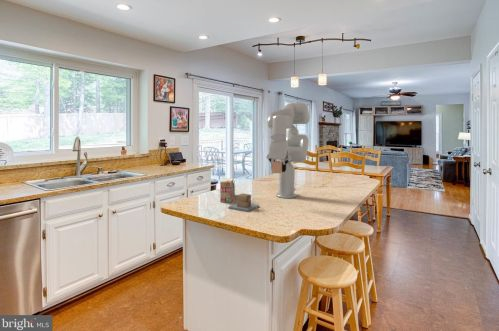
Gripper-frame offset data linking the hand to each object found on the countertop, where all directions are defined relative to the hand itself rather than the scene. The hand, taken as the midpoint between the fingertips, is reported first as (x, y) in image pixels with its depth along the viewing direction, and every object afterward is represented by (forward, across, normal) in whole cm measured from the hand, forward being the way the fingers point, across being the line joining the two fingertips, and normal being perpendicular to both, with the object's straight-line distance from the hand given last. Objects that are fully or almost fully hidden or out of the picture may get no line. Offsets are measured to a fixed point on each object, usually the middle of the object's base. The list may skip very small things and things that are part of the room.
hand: (278, 170), depth 171 cm
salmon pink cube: (+1, 0, 0) cm, 1 cm away
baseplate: (+19, -13, -15) cm, 28 cm away
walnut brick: (+18, -13, -15) cm, 27 cm away
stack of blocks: (+20, -33, -1) cm, 39 cm away
